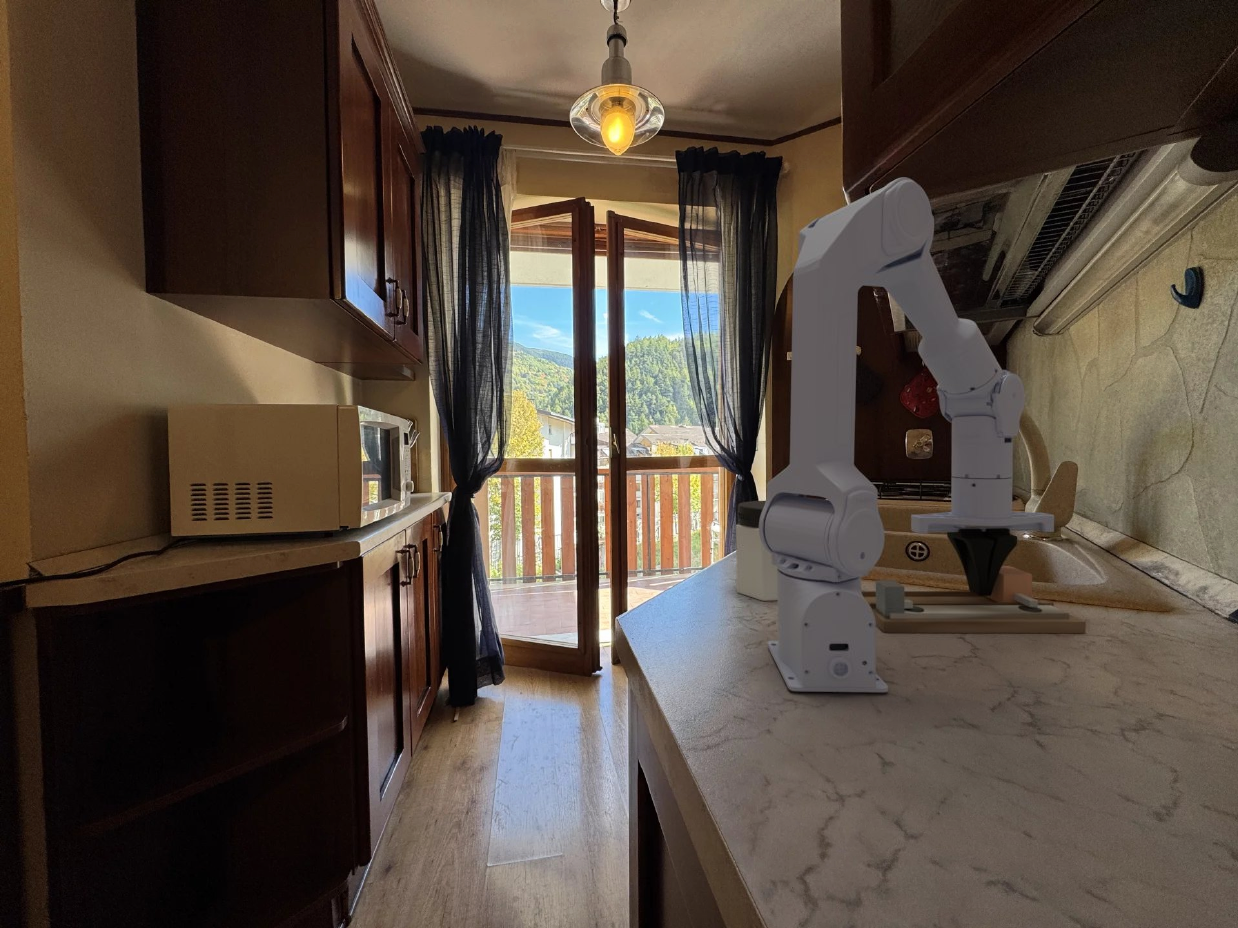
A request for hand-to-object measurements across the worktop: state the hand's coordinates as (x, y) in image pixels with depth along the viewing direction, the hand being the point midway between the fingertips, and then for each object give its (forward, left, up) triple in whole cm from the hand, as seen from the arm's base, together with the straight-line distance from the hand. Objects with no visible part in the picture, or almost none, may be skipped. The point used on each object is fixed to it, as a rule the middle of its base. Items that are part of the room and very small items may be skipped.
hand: (980, 593), depth 59 cm
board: (-2, +3, -2) cm, 5 cm away
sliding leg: (-1, -3, -1) cm, 3 cm away
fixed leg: (-4, +11, -1) cm, 12 cm away
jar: (+8, +22, -2) cm, 24 cm away
